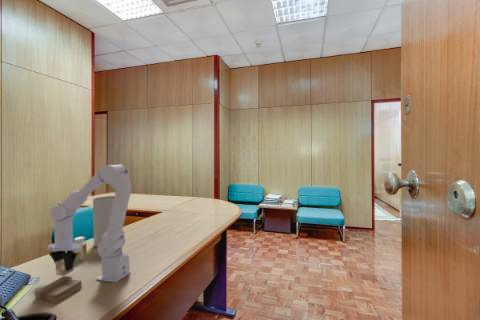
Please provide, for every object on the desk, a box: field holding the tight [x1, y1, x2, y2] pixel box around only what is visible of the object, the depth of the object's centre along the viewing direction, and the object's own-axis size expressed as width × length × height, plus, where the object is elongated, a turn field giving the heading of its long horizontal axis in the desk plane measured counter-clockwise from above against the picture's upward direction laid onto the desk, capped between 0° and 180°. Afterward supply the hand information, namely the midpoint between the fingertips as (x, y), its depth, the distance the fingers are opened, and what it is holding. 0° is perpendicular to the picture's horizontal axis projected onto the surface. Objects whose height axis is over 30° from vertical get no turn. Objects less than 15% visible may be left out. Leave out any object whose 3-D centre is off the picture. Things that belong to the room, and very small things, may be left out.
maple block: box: [55, 259, 75, 277], centre depth 92 cm, size 4×4×5 cm
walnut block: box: [34, 277, 83, 304], centre depth 81 cm, size 9×9×3 cm
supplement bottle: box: [73, 236, 88, 262], centre depth 109 cm, size 5×5×10 cm
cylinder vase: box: [92, 195, 115, 247], centre depth 128 cm, size 12×12×25 cm
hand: (64, 269), depth 92 cm, fingers closed on maple block, 4 cm apart
